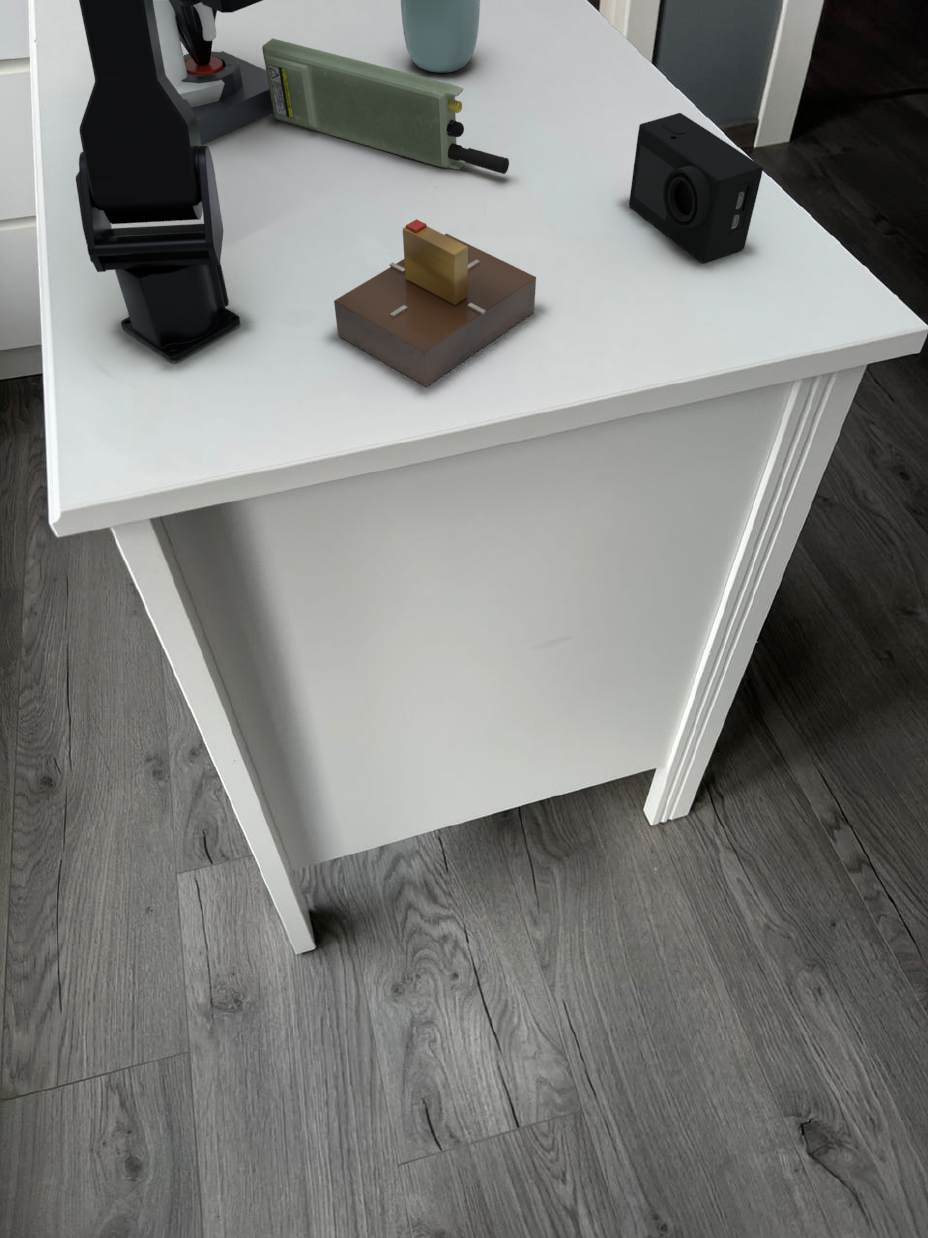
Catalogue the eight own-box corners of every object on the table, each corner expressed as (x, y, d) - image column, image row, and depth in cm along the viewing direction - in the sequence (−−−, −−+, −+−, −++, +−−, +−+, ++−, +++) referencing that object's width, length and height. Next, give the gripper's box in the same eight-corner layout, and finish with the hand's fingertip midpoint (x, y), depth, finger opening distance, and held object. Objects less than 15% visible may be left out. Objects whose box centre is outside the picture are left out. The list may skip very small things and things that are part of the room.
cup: (471, 84, 100) (471, -29, 92) (395, 77, 101) (389, -35, 93) (485, 51, 104) (487, -59, 97) (413, 45, 105) (409, -64, 98)
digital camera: (615, 208, 85) (625, 125, 79) (667, 192, 87) (680, 109, 81) (690, 268, 79) (706, 183, 74) (744, 249, 81) (763, 165, 75)
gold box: (468, 297, 72) (468, 243, 68) (454, 305, 71) (454, 251, 68) (418, 270, 74) (416, 216, 70) (404, 278, 73) (402, 224, 70)
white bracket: (243, 120, 95) (211, -63, 83) (146, 144, 92) (99, -42, 80) (216, 91, 99) (181, -88, 87) (122, 113, 96) (74, -69, 84)
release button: (203, 95, 93) (199, 75, 92) (179, 83, 95) (175, 64, 93) (233, 82, 95) (230, 62, 93) (209, 71, 96) (205, 51, 95)
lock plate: (427, 387, 70) (425, 350, 68) (336, 335, 74) (332, 297, 71) (535, 312, 76) (537, 275, 73) (446, 267, 79) (445, 230, 77)
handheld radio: (290, 107, 97) (516, 171, 89) (269, 122, 95) (498, 189, 87) (278, 33, 91) (517, 95, 83) (256, 48, 90) (498, 112, 82)
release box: (195, 148, 92) (185, 103, 89) (129, 114, 96) (118, 71, 93) (292, 103, 97) (286, 59, 94) (226, 73, 101) (219, 30, 98)
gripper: (314, -140, 81) (334, 64, 93) (171, -182, 89) (207, 11, 101) (206, -105, 76) (242, 105, 88) (64, -154, 84) (116, 46, 96)
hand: (203, 63), depth 93 cm, fingers closed, pressing on release button
